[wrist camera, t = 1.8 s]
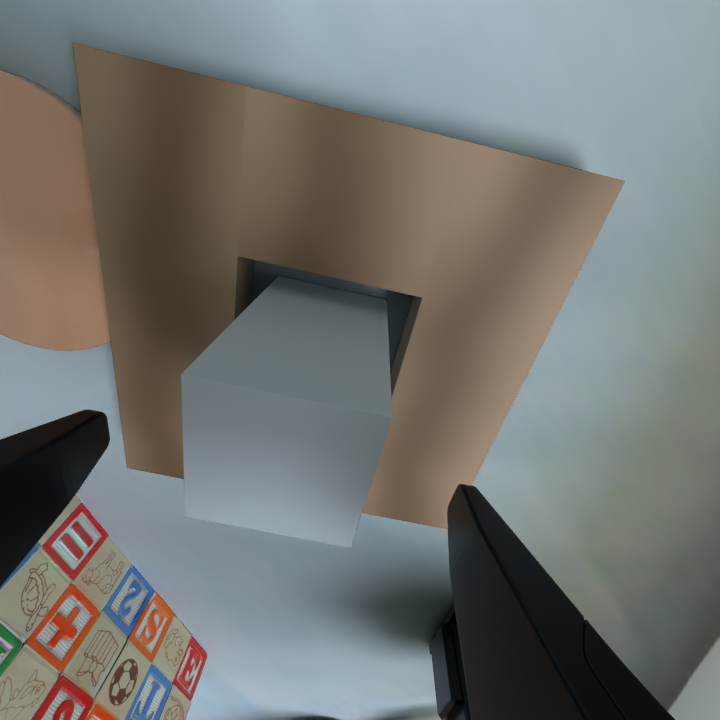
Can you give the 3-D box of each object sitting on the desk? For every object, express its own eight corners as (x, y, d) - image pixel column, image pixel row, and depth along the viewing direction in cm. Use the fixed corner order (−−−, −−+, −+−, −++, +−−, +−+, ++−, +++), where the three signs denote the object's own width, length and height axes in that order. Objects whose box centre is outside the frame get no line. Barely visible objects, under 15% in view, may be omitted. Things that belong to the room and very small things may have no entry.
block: (386, 299, 15) (392, 417, 8) (363, 390, 17) (350, 548, 10) (278, 275, 14) (181, 373, 7) (268, 370, 17) (184, 516, 9)
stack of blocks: (211, 653, 30) (113, 932, 19) (145, 657, 31) (16, 925, 20) (51, 462, 20) (-331, 798, 9) (-37, 477, 21) (-475, 798, 10)
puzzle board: (590, 179, 12) (624, 180, 11) (443, 497, 20) (449, 529, 18) (119, 62, 11) (72, 42, 10) (150, 440, 19) (126, 468, 17)
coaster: (153, 107, 12) (138, 103, 11) (165, 363, 17) (156, 371, 16) (-162, 30, 11) (-197, 21, 11) (-58, 316, 16) (-78, 323, 15)
